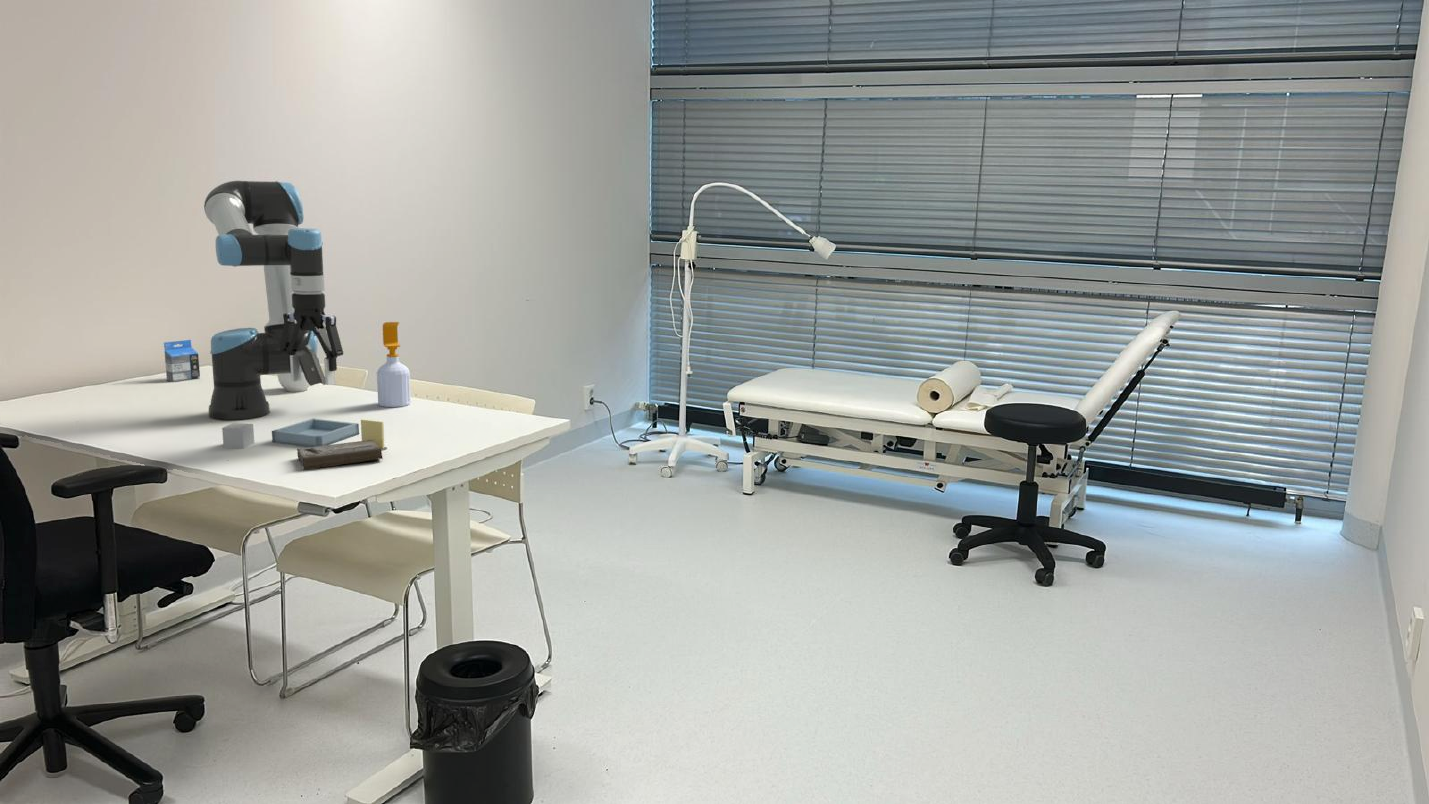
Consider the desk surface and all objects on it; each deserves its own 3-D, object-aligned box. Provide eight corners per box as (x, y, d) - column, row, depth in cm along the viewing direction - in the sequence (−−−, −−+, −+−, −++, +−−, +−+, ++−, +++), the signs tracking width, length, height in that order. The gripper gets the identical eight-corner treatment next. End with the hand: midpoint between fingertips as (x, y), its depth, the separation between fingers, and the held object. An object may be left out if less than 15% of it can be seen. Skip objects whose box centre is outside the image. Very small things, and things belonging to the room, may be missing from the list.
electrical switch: (327, 385, 239) (321, 348, 236) (305, 389, 236) (298, 352, 234) (321, 379, 247) (315, 343, 244) (300, 382, 244) (293, 346, 242)
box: (383, 461, 225) (382, 448, 224) (303, 471, 217) (302, 457, 216) (374, 451, 234) (373, 438, 233) (297, 460, 226) (296, 447, 225)
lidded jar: (270, 389, 299) (268, 360, 297) (302, 385, 307) (300, 356, 305) (290, 394, 293) (288, 364, 291) (322, 389, 301) (320, 360, 299)
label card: (359, 448, 236) (358, 420, 234) (365, 446, 238) (364, 418, 236) (380, 451, 234) (379, 423, 232) (386, 448, 236) (385, 420, 235)
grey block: (223, 447, 233) (222, 427, 232) (234, 442, 238) (233, 422, 237) (243, 448, 233) (242, 428, 232) (254, 443, 238) (253, 423, 237)
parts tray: (272, 442, 239) (271, 431, 238) (313, 428, 253) (313, 418, 253) (319, 447, 235) (319, 436, 235) (359, 434, 249) (358, 423, 249)
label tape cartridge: (173, 382, 305) (169, 343, 303) (166, 380, 307) (162, 342, 305) (200, 378, 313) (197, 340, 310) (194, 376, 315) (190, 339, 312)
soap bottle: (381, 408, 278) (377, 324, 273) (376, 402, 286) (372, 320, 281) (413, 406, 282) (410, 322, 277) (407, 400, 290) (404, 319, 285)
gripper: (259, 291, 236) (266, 381, 241) (335, 296, 230) (340, 388, 234) (281, 288, 243) (287, 376, 248) (356, 293, 237) (360, 383, 241)
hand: (313, 382), depth 241 cm, fingers closed on electrical switch, 9 cm apart
